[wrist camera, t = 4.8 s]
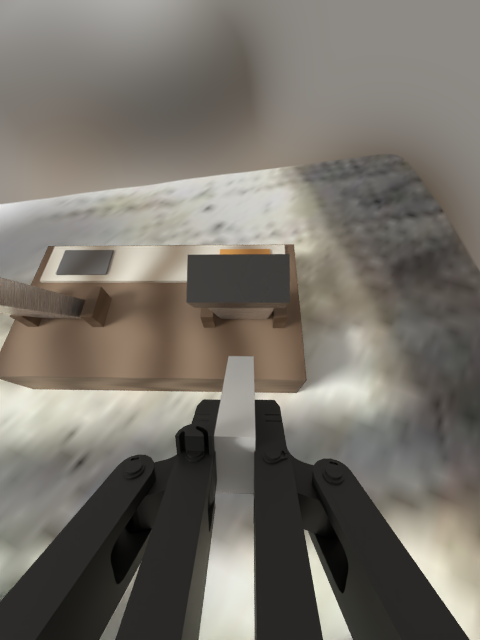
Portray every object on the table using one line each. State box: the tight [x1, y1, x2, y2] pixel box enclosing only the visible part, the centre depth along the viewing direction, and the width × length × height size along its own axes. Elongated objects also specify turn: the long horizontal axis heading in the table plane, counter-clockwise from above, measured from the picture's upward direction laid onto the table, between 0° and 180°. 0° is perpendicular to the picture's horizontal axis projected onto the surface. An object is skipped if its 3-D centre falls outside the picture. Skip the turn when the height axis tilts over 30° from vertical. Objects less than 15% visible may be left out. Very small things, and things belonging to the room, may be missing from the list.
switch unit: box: [0, 245, 306, 393], centre depth 26 cm, size 26×14×7 cm, turn 89°
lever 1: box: [0, 278, 85, 318], centre depth 18 cm, size 5×2×12 cm, turn 89°
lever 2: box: [186, 254, 290, 319], centre depth 17 cm, size 5×2×12 cm, turn 89°
